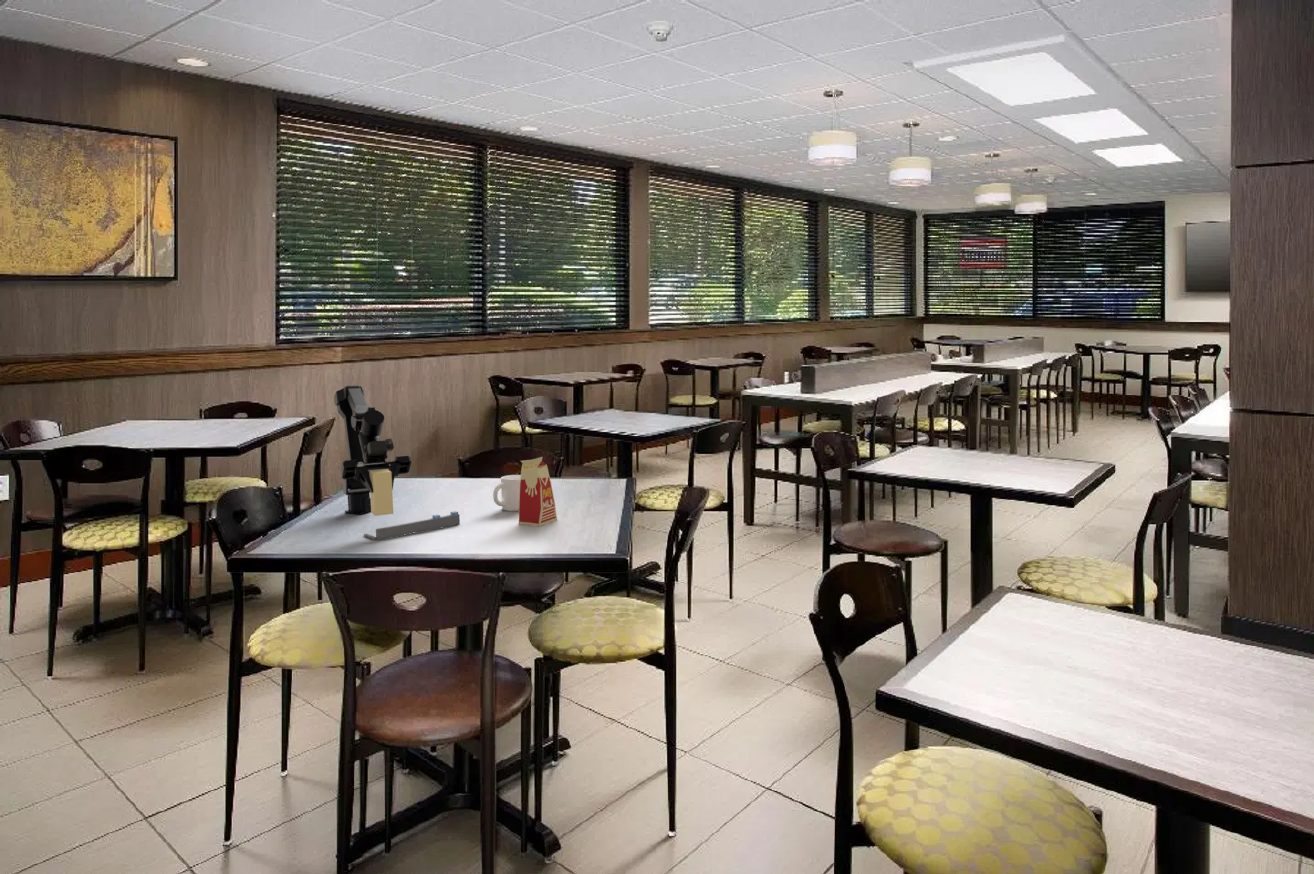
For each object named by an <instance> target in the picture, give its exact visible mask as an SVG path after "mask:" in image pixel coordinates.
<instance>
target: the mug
mask: <svg viewBox="0 0 1314 874" xmlns="http://www.w3.org/2000/svg"><path fill="white" fill-rule="evenodd" d="M520 479H521V474H509V475H504V476H501V477H500V483H498V484H497V485H496V486H495V487H494V490H493V494H492V497H493V502H494V503H495V504H496V505H497V506H498V507H501V508H502V510H503V511H506V512H519V493H520ZM499 491H501V493H500V494H501V501H500V500H499V499H498V494H499V493H498V492H499Z"/></svg>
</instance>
